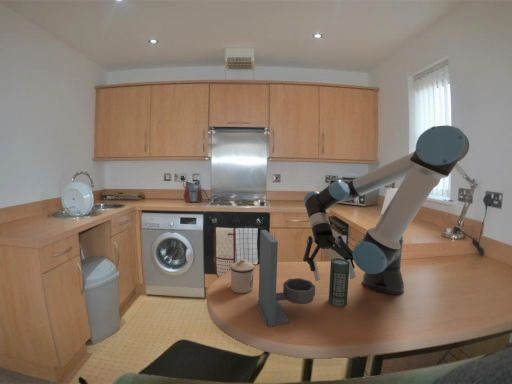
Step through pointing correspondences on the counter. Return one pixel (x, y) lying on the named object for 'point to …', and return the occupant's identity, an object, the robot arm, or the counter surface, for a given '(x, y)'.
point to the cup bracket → (268, 298)
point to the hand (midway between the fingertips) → (336, 279)
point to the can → (339, 282)
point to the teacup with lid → (242, 276)
